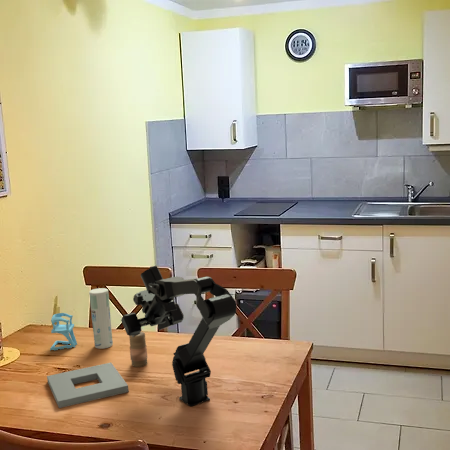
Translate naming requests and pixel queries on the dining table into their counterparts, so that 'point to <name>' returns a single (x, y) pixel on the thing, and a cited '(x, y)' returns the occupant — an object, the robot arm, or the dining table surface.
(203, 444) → the dining table surface
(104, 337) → the spray can
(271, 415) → the dining table surface
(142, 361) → the lidded jar
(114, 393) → the slotted shelf board
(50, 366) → the dining table surface
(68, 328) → the chair
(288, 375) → the dining table surface
